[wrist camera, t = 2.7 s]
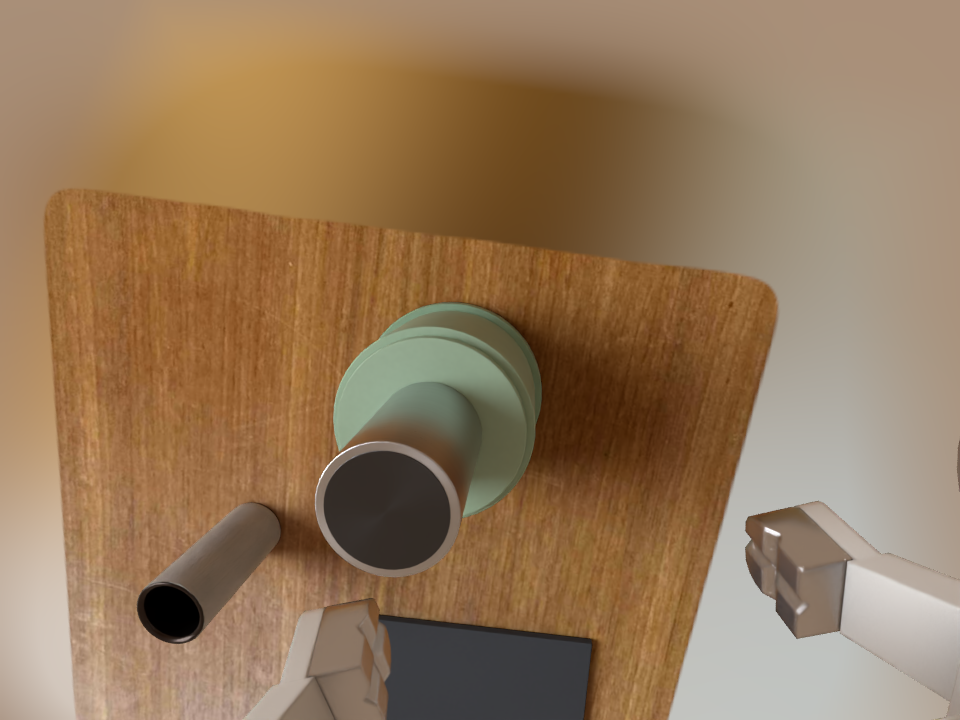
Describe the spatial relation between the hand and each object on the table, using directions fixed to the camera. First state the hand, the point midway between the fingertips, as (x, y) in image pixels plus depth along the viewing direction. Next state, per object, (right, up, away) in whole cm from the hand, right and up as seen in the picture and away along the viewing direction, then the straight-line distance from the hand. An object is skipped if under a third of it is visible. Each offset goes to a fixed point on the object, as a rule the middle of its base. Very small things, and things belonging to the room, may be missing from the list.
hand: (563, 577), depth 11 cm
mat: (-3, -24, +33) cm, 41 cm away
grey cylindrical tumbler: (-20, -9, +31) cm, 39 cm away
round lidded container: (-4, +2, +27) cm, 27 cm away
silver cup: (-5, +1, +18) cm, 19 cm away
